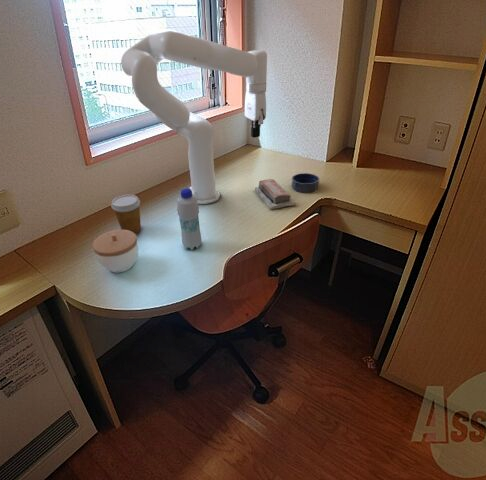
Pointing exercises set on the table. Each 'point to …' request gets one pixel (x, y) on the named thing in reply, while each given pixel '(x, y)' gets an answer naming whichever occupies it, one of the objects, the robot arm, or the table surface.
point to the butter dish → (273, 194)
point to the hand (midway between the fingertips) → (255, 136)
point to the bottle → (189, 219)
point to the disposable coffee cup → (127, 212)
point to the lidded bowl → (116, 250)
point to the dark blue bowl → (305, 182)
